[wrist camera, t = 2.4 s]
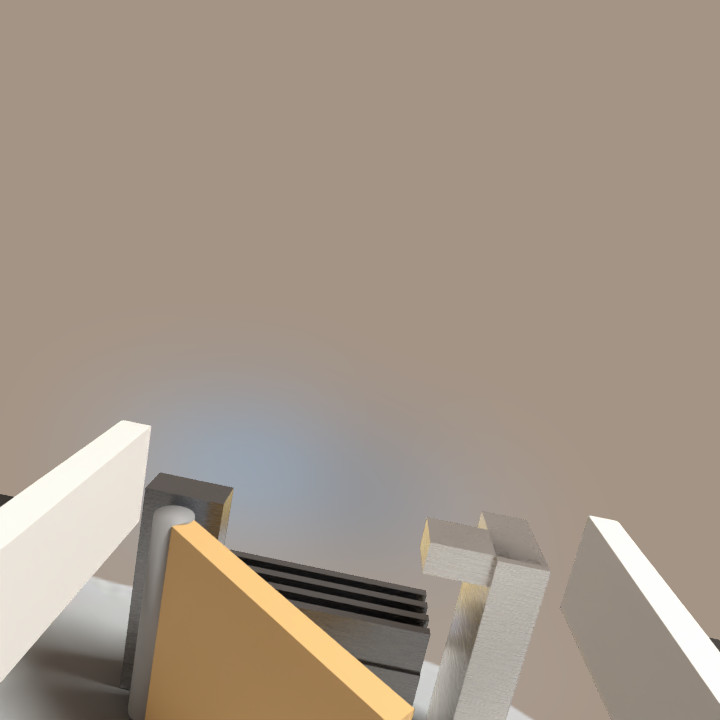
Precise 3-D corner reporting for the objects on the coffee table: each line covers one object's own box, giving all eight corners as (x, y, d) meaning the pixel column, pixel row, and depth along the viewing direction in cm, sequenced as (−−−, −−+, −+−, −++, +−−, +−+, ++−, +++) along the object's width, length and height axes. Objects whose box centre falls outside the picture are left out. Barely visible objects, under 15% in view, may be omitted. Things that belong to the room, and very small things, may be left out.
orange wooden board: (121, 704, 39) (145, 510, 36) (155, 687, 40) (181, 502, 37) (320, 988, 26) (384, 732, 23) (356, 947, 28) (420, 703, 25)
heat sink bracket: (94, 731, 37) (123, 482, 33) (147, 641, 45) (176, 433, 41) (477, 812, 37) (550, 571, 33) (461, 707, 45) (519, 504, 41)
